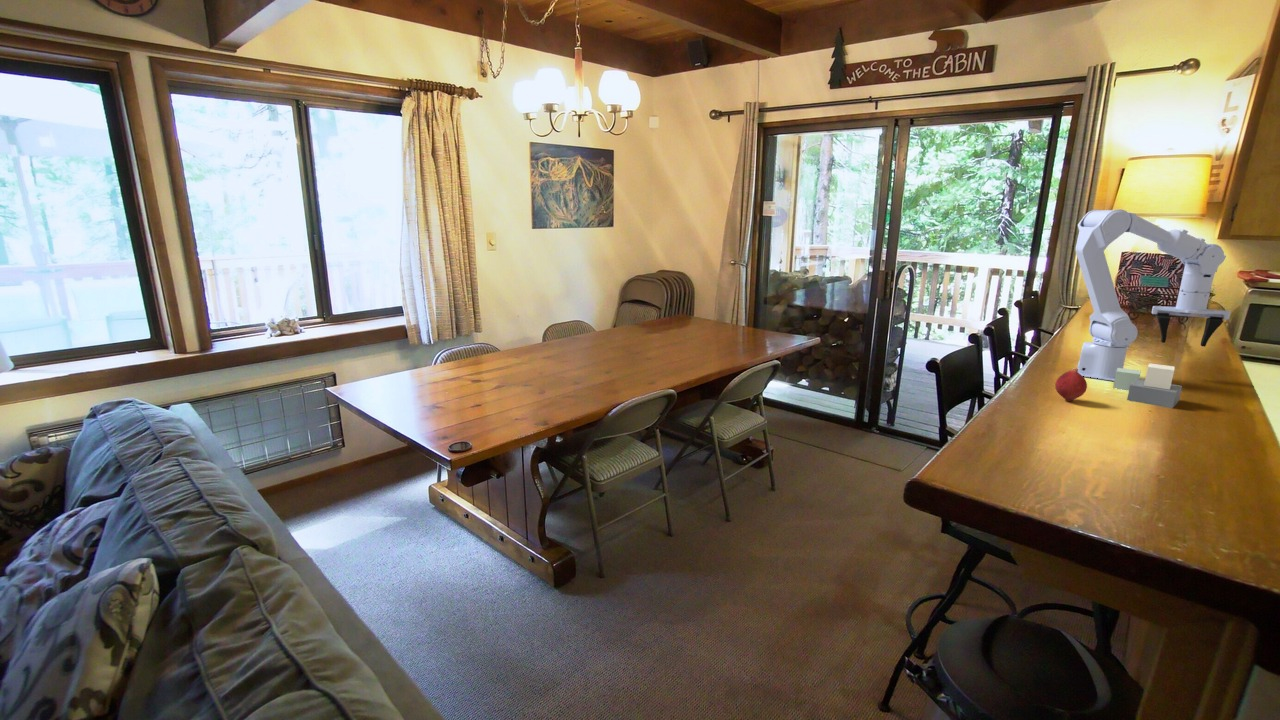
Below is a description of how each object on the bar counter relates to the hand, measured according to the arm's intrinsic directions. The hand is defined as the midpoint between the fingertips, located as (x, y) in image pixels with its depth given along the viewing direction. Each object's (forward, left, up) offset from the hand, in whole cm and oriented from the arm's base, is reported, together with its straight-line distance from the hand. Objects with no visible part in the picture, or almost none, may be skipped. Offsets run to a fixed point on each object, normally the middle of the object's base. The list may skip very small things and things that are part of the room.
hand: (1182, 343), depth 150 cm
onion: (-18, -41, -10) cm, 46 cm away
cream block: (-3, -28, -6) cm, 29 cm away
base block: (-3, -28, -10) cm, 30 cm away
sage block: (-9, -19, -10) cm, 23 cm away
